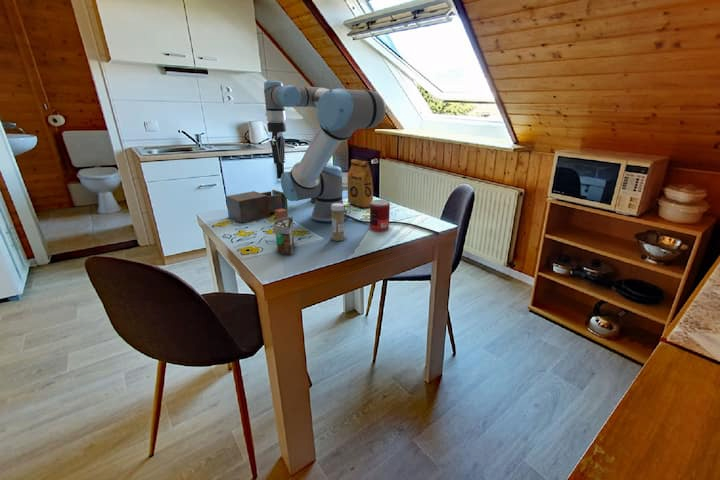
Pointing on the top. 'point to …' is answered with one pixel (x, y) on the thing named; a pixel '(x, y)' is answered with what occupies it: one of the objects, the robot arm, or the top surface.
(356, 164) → the coffee package
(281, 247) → the food container
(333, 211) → the sprinkles bottle
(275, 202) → the drawer
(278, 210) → the block
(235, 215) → the cabinet
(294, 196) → the robot arm
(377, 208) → the canned food
